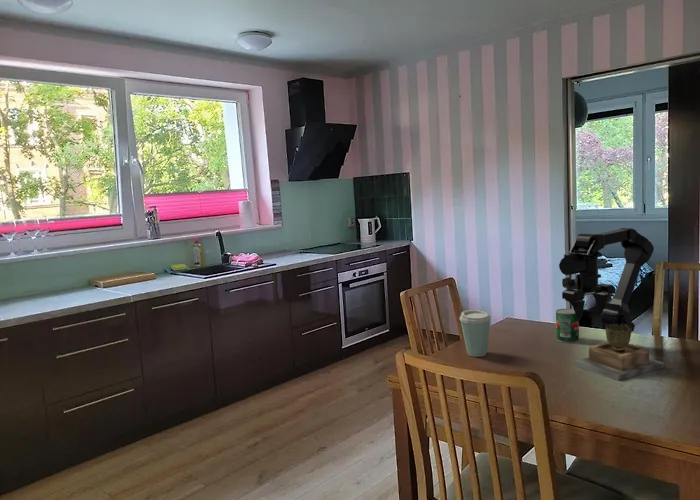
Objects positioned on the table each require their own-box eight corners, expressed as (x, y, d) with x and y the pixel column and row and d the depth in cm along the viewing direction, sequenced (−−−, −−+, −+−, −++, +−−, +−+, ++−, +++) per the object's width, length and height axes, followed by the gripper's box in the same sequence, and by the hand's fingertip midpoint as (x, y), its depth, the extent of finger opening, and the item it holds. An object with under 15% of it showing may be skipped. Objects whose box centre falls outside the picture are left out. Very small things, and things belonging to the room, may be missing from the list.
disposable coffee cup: (497, 352, 188) (496, 311, 187) (482, 361, 181) (480, 318, 179) (471, 347, 196) (469, 307, 194) (455, 355, 188) (453, 314, 186)
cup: (634, 354, 163) (634, 329, 162) (608, 354, 164) (608, 329, 163) (627, 347, 170) (627, 322, 169) (602, 347, 172) (602, 323, 171)
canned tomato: (554, 337, 202) (553, 308, 201) (575, 336, 201) (575, 308, 200) (559, 343, 194) (558, 313, 193) (581, 342, 193) (581, 313, 192)
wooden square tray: (618, 353, 179) (618, 336, 178) (663, 367, 165) (664, 348, 164) (574, 365, 171) (574, 347, 170) (618, 380, 156) (618, 360, 156)
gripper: (588, 265, 188) (589, 308, 190) (549, 271, 180) (550, 317, 182) (616, 268, 178) (616, 314, 180) (575, 276, 170) (576, 323, 172)
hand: (589, 317), depth 179 cm, fingers open, 9 cm apart
